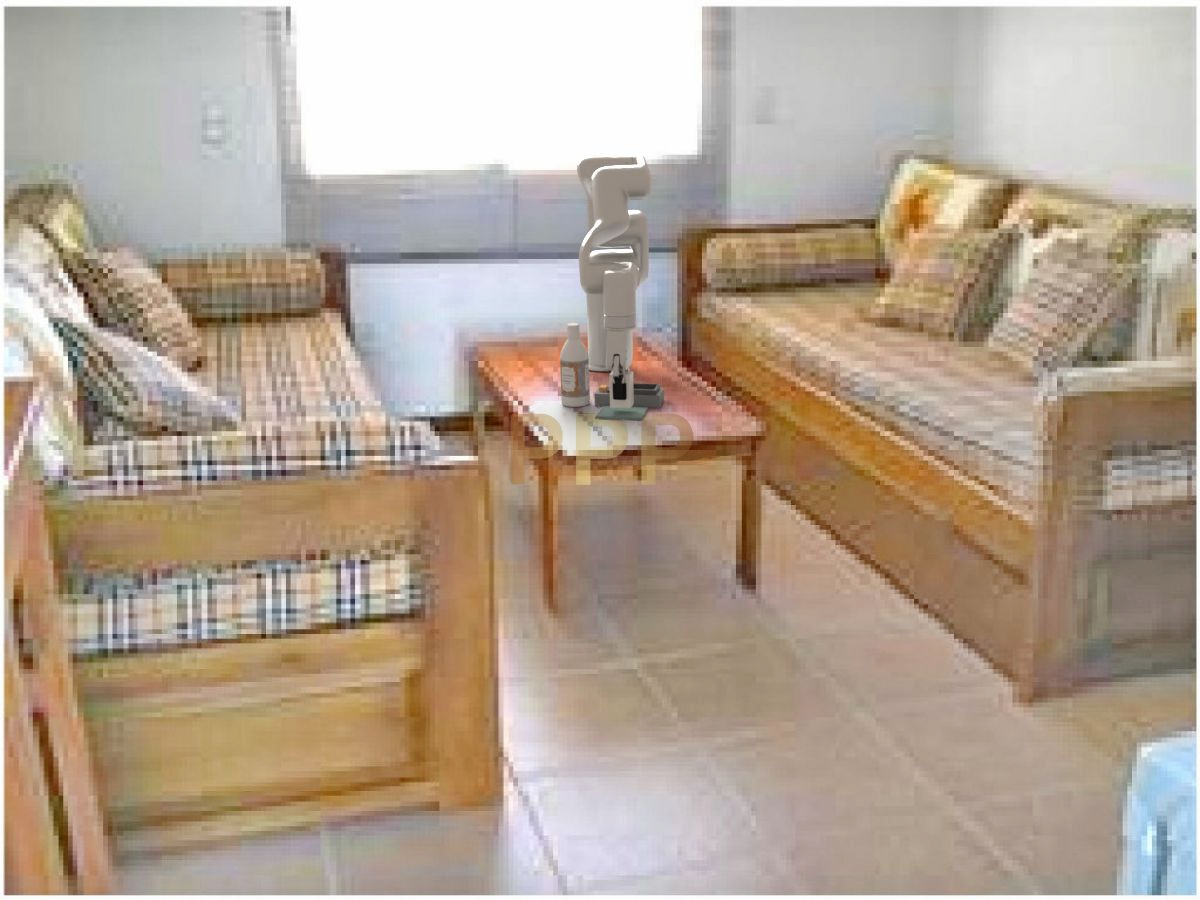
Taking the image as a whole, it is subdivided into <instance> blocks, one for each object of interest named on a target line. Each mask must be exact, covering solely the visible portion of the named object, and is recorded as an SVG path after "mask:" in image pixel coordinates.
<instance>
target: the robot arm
mask: <svg viewBox="0 0 1200 900" xmlns="http://www.w3.org/2000/svg"><path fill="white" fill-rule="evenodd" d="M576 163H577V164H576V172H577V175H578V180H579V181H580V184H581V185H582V188H583V190H584V192H585V196H586V216H587V217H586V218H587V219H586V220H587V222H586V224H587V225H586V226H587V227H586V229H587V234H586V236H585V237H584V239H583V241H582V243H581V245H580V248H579V252H578V269H579V282H580V286H581V287H580V288H581V289H582V291H583V292H584V293H585V295H586V296H585V297H586V313H587V314H586V318H587V320H586V321H587V322H586V323H587V352H588V357H589V371H592V372H612V371H613V399H614V400H626V398H627V392H626V383H625V371H630V366H631V365H632V363H633V357H634V347H633V346H634V343H633V342H634V341H633V330H635V329H636V328H637V309H636V308H637V307H636V306H637V305H636V304H637V303H636V300H637V299H636V297H637V296H636V291H637V289H638V287H640V285H641V284H644V283H646V281H647V279H648V276H649V267H650V266H649V262H650V261H649V256H650V255H649V240H650V239H649V234H650V232H649V221H648V219H647V216H646V214H645V213H644V212H643V211H642V210H640V209H639V210H638V209H629V201H643V200H644V201H645V200H647V199H648V198H649V197H650V195H651V193H652V177H651V172H650V169H649V165H648V164H647V161H646V158H645V156H644V155H642V154H640V153H615V154H614V153H606V154H605V153H604V154H601V153H600V154H588V155H584V156H582V157H580V158H579V159H578V161H577V162H576ZM596 248H611V249H596ZM612 248H614V249H612ZM615 248H616V249H615ZM617 248H620V249H617ZM619 368H623V369H622V370H619ZM620 373H622V376H621V374H620Z"/></svg>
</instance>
